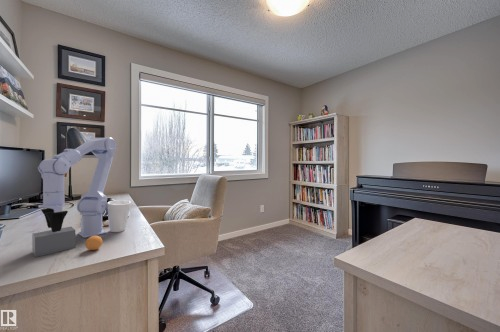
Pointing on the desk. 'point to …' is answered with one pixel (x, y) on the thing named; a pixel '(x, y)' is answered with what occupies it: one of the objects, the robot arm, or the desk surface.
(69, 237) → the grey rectangular brick
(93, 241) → the ball
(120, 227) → the foam cup
